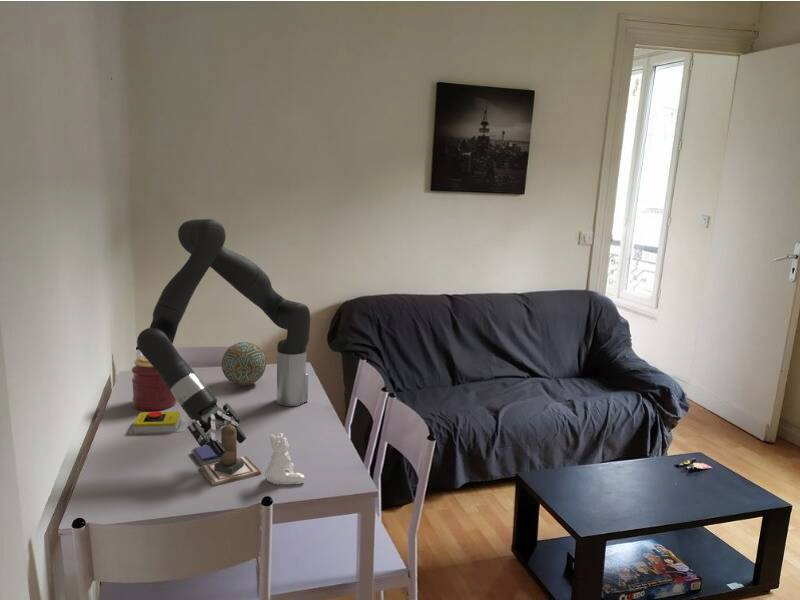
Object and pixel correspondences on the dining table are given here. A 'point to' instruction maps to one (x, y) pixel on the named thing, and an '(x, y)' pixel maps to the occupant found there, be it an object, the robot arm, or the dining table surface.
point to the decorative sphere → (243, 363)
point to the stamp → (229, 452)
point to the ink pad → (205, 455)
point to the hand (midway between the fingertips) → (233, 447)
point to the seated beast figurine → (281, 463)
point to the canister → (149, 387)
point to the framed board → (221, 478)
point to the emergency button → (158, 423)
